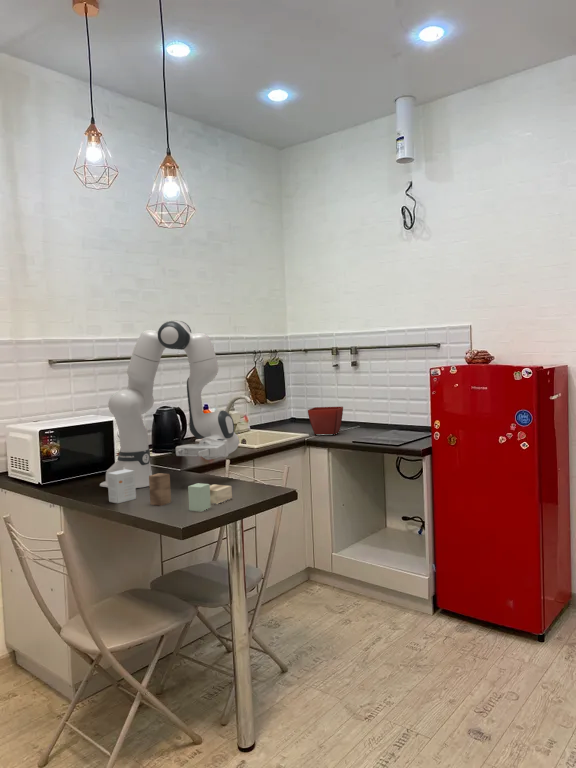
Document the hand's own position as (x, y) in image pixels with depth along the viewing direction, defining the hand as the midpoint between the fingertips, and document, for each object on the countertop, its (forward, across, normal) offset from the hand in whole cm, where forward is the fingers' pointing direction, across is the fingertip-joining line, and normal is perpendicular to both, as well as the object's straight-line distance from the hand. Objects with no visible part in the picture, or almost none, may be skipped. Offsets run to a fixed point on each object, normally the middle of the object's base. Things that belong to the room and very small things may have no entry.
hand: (187, 453), depth 216 cm
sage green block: (+18, +18, +15) cm, 29 cm away
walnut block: (+16, -1, +15) cm, 21 cm away
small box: (+17, -18, +15) cm, 28 cm away
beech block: (+7, +16, +15) cm, 23 cm away
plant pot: (-162, -19, +16) cm, 164 cm away
